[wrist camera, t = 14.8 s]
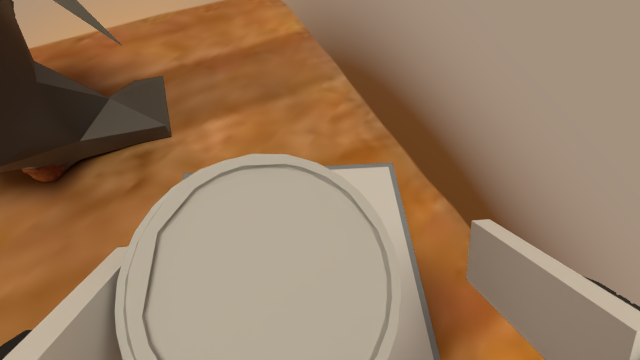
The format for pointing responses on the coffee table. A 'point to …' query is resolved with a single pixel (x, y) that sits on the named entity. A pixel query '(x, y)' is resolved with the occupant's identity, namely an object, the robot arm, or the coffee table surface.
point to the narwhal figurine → (66, 108)
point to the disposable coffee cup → (259, 268)
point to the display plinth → (414, 320)
